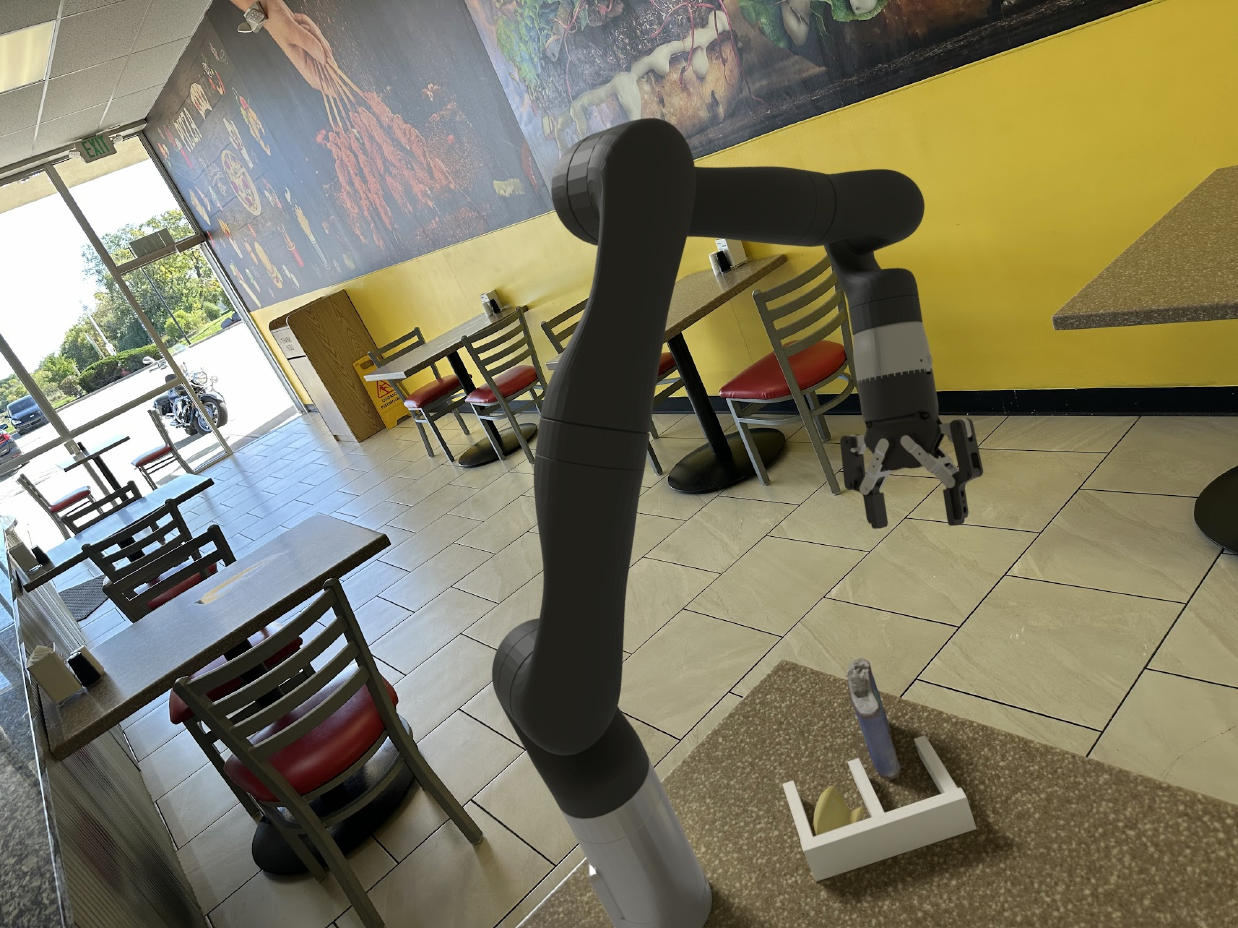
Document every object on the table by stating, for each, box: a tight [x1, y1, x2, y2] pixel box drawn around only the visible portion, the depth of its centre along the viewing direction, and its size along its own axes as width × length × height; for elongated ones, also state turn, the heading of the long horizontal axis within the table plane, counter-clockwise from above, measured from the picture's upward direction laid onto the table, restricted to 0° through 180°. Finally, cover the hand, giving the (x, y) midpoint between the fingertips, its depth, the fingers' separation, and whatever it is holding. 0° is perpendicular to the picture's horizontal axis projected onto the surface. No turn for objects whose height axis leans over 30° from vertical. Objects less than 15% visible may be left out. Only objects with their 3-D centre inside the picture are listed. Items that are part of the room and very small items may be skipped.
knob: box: [813, 785, 865, 836], centre depth 77 cm, size 5×5×5 cm
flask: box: [845, 658, 902, 781], centre depth 84 cm, size 9×3×11 cm, turn 172°
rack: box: [782, 735, 977, 883], centre depth 78 cm, size 16×10×4 cm, turn 92°
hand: (917, 526), depth 82 cm, fingers open, 8 cm apart
